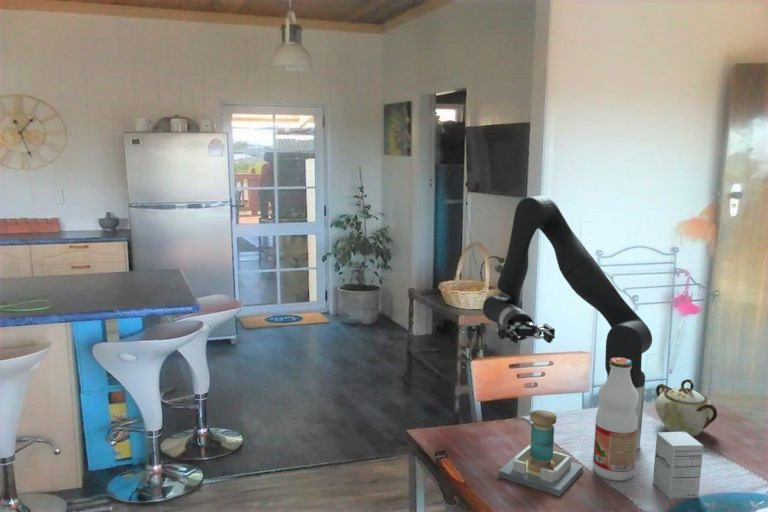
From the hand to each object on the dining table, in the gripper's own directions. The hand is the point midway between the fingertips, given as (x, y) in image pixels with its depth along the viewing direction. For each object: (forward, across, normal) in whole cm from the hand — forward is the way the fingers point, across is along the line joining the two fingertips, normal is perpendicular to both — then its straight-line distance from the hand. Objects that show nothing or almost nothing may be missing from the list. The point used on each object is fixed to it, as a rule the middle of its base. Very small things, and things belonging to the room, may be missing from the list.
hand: (533, 339), depth 161 cm
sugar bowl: (-12, +48, +30) cm, 58 cm away
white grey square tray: (+11, 0, +30) cm, 32 cm away
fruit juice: (+11, +18, +30) cm, 37 cm away
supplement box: (+20, +28, +30) cm, 46 cm away
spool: (+11, 0, +28) cm, 30 cm away
